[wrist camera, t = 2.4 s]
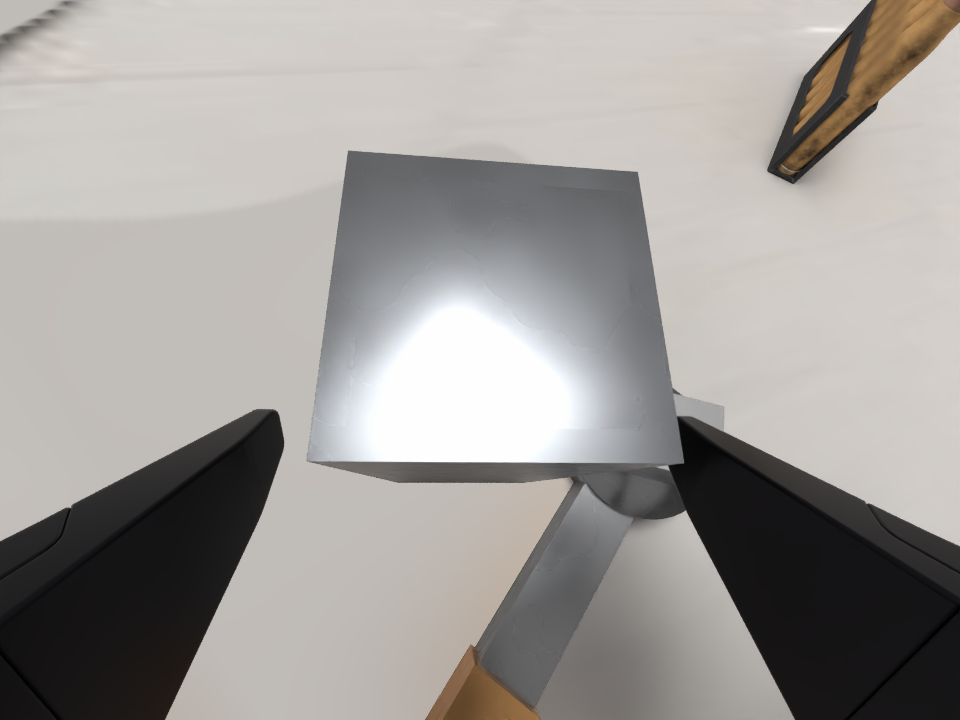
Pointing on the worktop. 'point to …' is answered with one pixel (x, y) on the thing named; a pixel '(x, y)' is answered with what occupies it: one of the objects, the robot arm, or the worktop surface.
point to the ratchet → (559, 587)
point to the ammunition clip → (858, 76)
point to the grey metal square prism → (491, 325)
